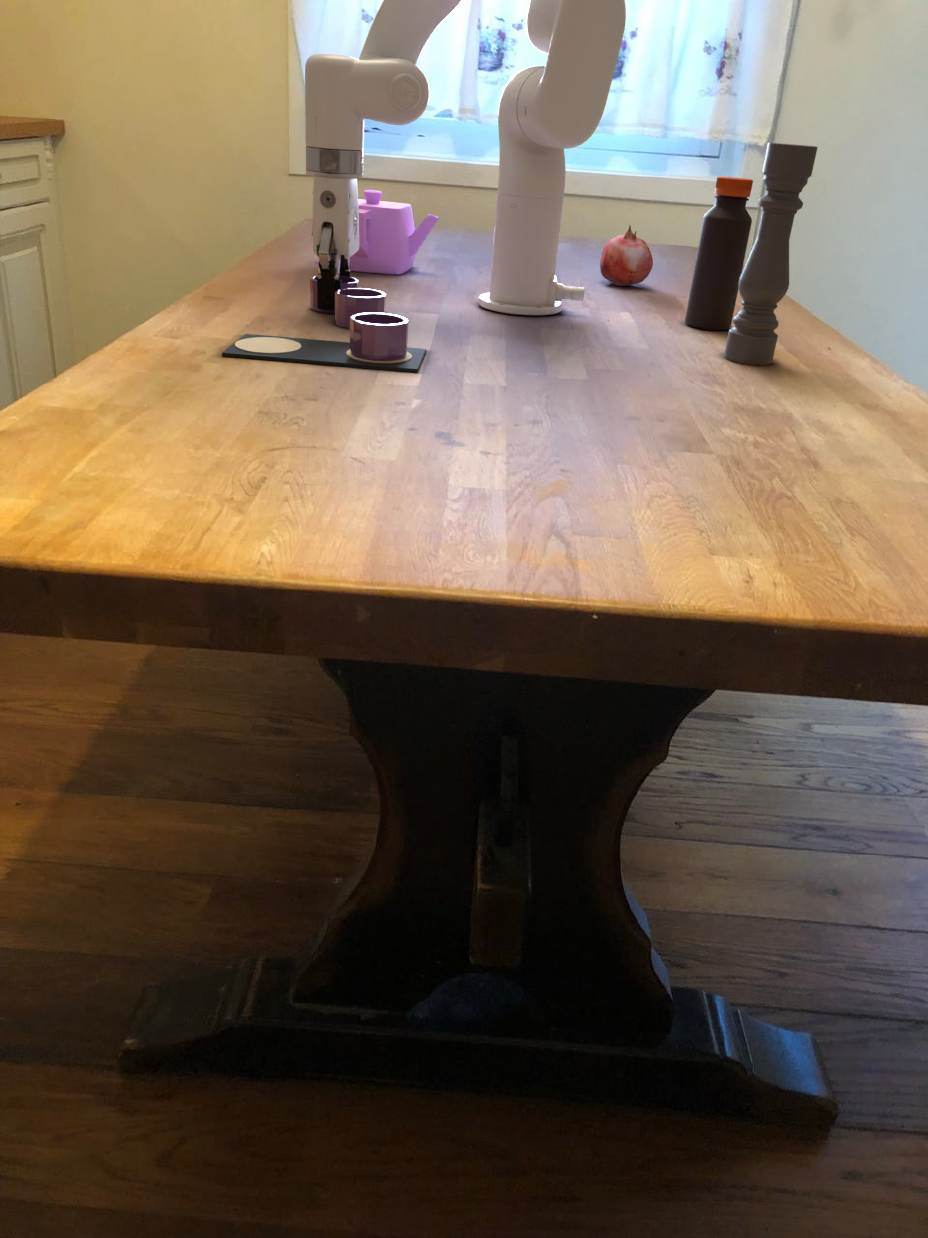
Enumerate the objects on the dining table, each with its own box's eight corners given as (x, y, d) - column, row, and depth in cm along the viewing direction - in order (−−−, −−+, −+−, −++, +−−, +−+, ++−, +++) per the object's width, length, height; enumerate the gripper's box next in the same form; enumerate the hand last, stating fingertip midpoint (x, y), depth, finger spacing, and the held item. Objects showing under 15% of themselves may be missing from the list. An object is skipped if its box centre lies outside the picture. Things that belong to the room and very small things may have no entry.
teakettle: (305, 260, 168) (304, 184, 162) (386, 257, 178) (388, 185, 172) (355, 277, 157) (356, 195, 151) (438, 273, 166) (443, 196, 160)
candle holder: (774, 367, 120) (823, 147, 108) (724, 361, 121) (767, 143, 109) (770, 356, 126) (816, 145, 114) (722, 351, 127) (763, 141, 115)
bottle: (675, 323, 141) (701, 175, 131) (699, 319, 145) (725, 175, 136) (716, 332, 137) (745, 180, 127) (738, 327, 141) (769, 180, 132)
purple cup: (361, 306, 136) (361, 277, 134) (353, 315, 130) (353, 284, 128) (316, 302, 136) (315, 273, 134) (306, 311, 131) (306, 280, 129)
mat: (426, 352, 115) (426, 347, 114) (417, 372, 106) (417, 368, 106) (245, 336, 115) (245, 332, 115) (222, 356, 106) (221, 351, 106)
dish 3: (409, 349, 113) (410, 315, 111) (402, 363, 107) (404, 327, 105) (355, 345, 113) (355, 310, 111) (345, 358, 107) (346, 322, 105)
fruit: (610, 277, 175) (618, 219, 170) (657, 286, 170) (666, 226, 165) (586, 282, 168) (593, 221, 163) (634, 291, 164) (643, 229, 159)
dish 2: (387, 320, 129) (388, 290, 127) (381, 331, 123) (381, 299, 121) (340, 317, 129) (340, 286, 127) (331, 327, 123) (331, 295, 121)
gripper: (352, 170, 117) (350, 319, 125) (372, 162, 132) (370, 295, 141) (291, 165, 117) (294, 314, 126) (319, 158, 132) (319, 291, 141)
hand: (334, 303), depth 133 cm, fingers closed on purple cup, 6 cm apart
